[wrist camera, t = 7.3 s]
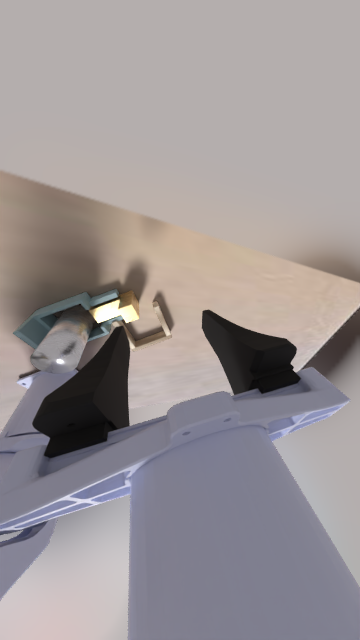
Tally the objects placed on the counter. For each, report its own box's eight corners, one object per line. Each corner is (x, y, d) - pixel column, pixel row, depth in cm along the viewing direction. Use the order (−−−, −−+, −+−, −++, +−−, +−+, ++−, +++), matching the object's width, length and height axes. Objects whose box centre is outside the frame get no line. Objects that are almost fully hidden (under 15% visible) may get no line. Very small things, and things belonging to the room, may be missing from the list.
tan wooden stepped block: (138, 302, 20) (139, 318, 17) (100, 316, 20) (94, 334, 17) (132, 290, 19) (131, 304, 16) (91, 305, 19) (82, 322, 16)
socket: (133, 316, 21) (132, 337, 18) (70, 340, 21) (57, 365, 18) (112, 282, 18) (107, 299, 14) (37, 309, 18) (12, 333, 14)
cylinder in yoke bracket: (100, 322, 21) (86, 365, 15) (76, 331, 21) (52, 378, 15) (83, 301, 19) (59, 342, 13) (56, 311, 18) (19, 357, 13)
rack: (170, 331, 25) (172, 337, 24) (133, 345, 25) (133, 352, 23) (157, 300, 21) (158, 306, 20) (113, 317, 21) (111, 323, 20)
